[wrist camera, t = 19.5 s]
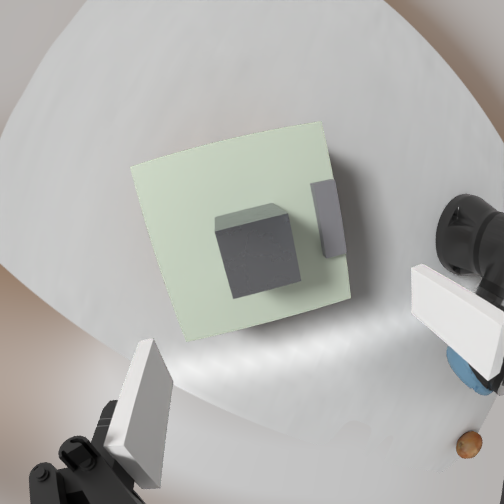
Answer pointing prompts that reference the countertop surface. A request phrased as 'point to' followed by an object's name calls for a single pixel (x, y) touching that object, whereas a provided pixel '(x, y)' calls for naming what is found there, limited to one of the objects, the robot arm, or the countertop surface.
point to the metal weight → (257, 249)
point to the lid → (235, 199)
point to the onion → (469, 445)
